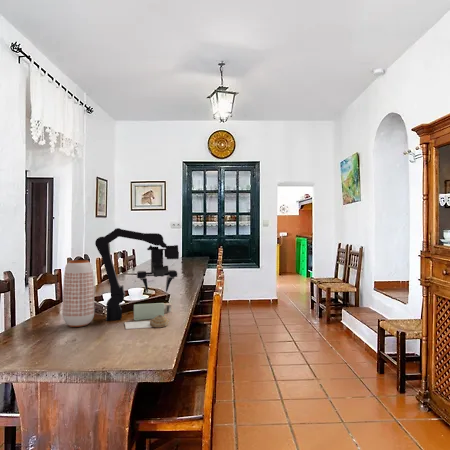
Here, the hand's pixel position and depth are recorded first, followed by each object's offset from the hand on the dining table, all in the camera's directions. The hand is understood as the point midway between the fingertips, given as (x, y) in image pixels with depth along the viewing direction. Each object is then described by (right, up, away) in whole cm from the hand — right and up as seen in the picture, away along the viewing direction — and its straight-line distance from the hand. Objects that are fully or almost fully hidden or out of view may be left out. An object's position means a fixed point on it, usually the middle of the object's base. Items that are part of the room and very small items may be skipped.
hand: (156, 292), depth 186 cm
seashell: (+5, -12, -11) cm, 17 cm away
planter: (-32, -12, -14) cm, 37 cm away
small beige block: (+3, -12, +11) cm, 17 cm away
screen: (-3, -12, -4) cm, 13 cm away
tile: (-6, -12, -15) cm, 20 cm away
